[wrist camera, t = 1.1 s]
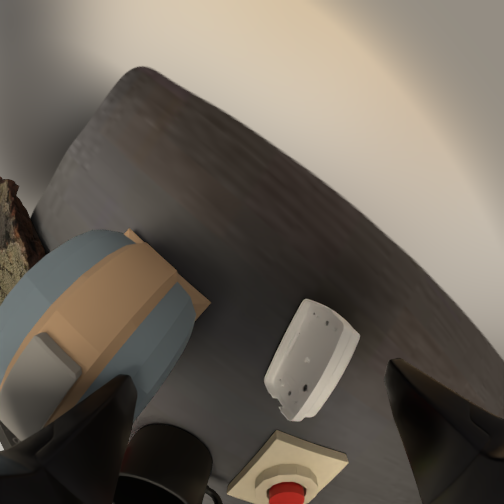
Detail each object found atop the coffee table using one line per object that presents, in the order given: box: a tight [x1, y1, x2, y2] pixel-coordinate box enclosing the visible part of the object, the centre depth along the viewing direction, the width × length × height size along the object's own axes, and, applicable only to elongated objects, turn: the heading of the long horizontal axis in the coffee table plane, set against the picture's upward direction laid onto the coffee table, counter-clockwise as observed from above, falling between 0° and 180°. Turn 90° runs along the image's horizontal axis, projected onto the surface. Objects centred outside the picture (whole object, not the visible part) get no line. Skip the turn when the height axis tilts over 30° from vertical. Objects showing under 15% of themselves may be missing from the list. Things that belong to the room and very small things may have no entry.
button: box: [269, 482, 305, 504], centre depth 21 cm, size 4×4×2 cm
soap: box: [264, 299, 360, 421], centre depth 22 cm, size 9×7×3 cm
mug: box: [112, 425, 223, 504], centre depth 21 cm, size 9×12×9 cm
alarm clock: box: [0, 228, 211, 441], centre depth 15 cm, size 14×10×18 cm
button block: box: [227, 430, 349, 504], centre depth 24 cm, size 11×9×4 cm
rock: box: [0, 177, 45, 306], centre depth 25 cm, size 20×17×5 cm
